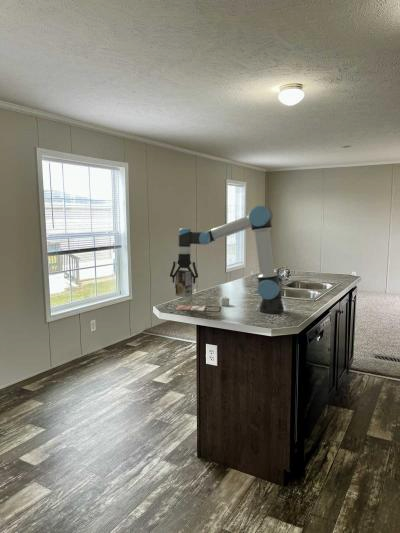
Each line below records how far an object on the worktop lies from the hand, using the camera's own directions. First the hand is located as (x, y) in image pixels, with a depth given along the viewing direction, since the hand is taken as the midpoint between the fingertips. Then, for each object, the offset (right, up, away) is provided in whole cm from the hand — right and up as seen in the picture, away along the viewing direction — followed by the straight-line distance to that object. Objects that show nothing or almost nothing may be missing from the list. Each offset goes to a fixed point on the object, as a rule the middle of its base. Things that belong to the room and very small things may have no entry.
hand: (183, 288), depth 243 cm
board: (+9, -13, 0) cm, 16 cm away
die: (+26, -12, +12) cm, 32 cm away
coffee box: (0, -5, +1) cm, 5 cm away
